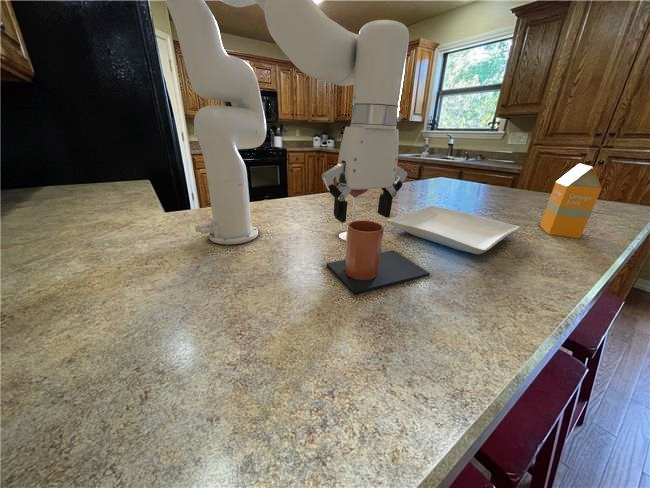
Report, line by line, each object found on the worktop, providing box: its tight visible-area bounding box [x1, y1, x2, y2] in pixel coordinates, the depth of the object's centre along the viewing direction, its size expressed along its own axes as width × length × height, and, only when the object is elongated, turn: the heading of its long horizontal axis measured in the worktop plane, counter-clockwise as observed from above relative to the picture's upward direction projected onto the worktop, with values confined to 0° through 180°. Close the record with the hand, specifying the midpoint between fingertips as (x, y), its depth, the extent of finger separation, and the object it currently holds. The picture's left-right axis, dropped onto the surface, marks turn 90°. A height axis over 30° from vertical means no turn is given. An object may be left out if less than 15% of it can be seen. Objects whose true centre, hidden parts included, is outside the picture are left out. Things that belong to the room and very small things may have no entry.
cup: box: [344, 219, 385, 280], centre depth 53 cm, size 7×7×10 cm
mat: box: [326, 250, 431, 295], centre depth 57 cm, size 18×12×1 cm, turn 115°
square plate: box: [387, 205, 522, 255], centre depth 77 cm, size 27×27×4 cm
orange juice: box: [539, 162, 603, 239], centre depth 79 cm, size 8×9×20 cm
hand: (362, 217), depth 51 cm, fingers open, 9 cm apart
